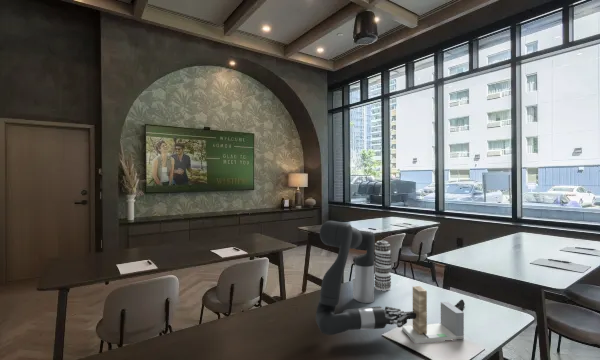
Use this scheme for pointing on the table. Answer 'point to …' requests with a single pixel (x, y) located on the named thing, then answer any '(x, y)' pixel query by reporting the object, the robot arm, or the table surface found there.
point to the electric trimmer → (460, 305)
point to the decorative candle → (382, 265)
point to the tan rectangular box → (420, 310)
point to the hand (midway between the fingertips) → (414, 314)
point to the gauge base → (441, 326)
